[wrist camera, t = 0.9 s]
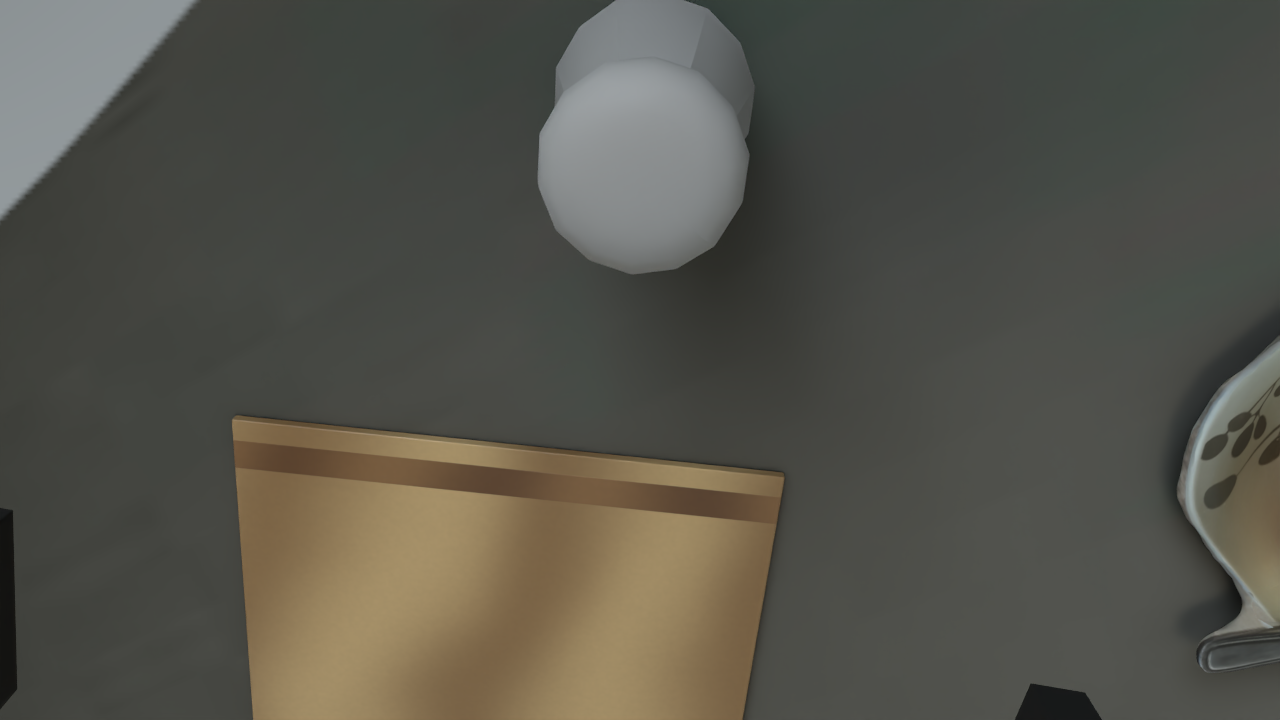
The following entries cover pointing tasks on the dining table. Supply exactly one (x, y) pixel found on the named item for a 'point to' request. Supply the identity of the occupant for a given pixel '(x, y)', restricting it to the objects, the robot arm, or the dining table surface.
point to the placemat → (494, 578)
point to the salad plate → (1240, 508)
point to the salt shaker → (647, 135)
